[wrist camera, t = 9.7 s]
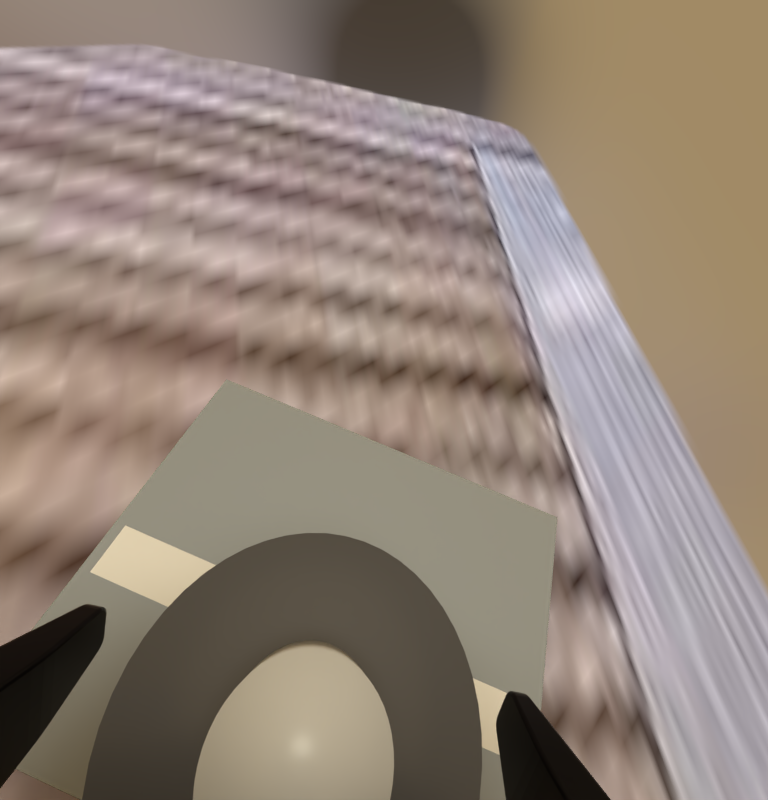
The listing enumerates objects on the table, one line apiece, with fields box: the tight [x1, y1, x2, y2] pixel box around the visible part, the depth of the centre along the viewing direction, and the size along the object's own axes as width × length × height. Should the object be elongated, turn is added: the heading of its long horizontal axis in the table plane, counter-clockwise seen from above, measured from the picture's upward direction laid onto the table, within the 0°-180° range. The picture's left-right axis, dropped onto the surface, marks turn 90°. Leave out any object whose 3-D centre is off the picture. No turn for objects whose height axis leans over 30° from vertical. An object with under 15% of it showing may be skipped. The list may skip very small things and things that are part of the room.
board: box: [16, 380, 557, 800], centre depth 16 cm, size 16×20×2 cm
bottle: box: [82, 533, 482, 800], centre depth 9 cm, size 4×4×14 cm
